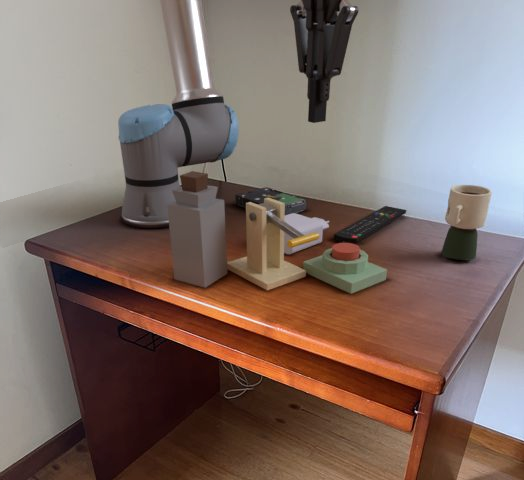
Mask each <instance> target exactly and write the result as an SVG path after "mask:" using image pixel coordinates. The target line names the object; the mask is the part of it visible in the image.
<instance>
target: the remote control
mask: <svg viewBox="0 0 524 480" xmlns="http://www.w3.org/2000/svg"><path fill="white" fill-rule="evenodd" d="M405 214H407V209H404V208H398V207H392V206H388V205H384V206H383V207H381V208H378V209H377V210H375V211H373V212H372V213H370V214H368V215H366V216H364V217H361V218H360V219H358V220H357V221H355V222H353V223H351V224H349V225H348V226H345V228H343V229H341V230H339V231H337V232H335V233H334V234H333V238H334V239H335V241H336V242H338V243H352V244H357V243H359V242H360V241H362V240H364V239H365V238H367V237H369V236H371V235H372V234H373V233H375V232H376V231H378V230H380V229H382V228H383V227H386V226H387V225H388V224H390V223H392V222H394V221H396V220H397V219H398V218H400V217H402V216H404V215H405Z"/></svg>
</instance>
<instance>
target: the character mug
mask: <svg viewBox="0 0 524 480" xmlns="http://www.w3.org/2000/svg"><path fill="white" fill-rule="evenodd" d="M492 193H493V191H492V190H491V189H490V188H487V187H486V186H485V187H484V186H481V185H474V184H458V185H453V186H451V187H450V189H449V193H448V194H449V195H448V199H447V209H446V213H445V216H444V219H445V222H446V223H447V224H448V225H450V227H449V228H448V230H447V233H446V236H445V239H444V241H443V245H442V248H441V255H442V256H443V257H444V258H448V259H453V260H454V261H456V260H459V261H473V260H474V259H476V257H477V251H478V249H477V248H478V236H479V235H478V233H479V232H478V231H477V229H482V228H483V227H484V226H485V225H486V221H487V217H488V211H489V207H490V203H491V198H492Z"/></svg>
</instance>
